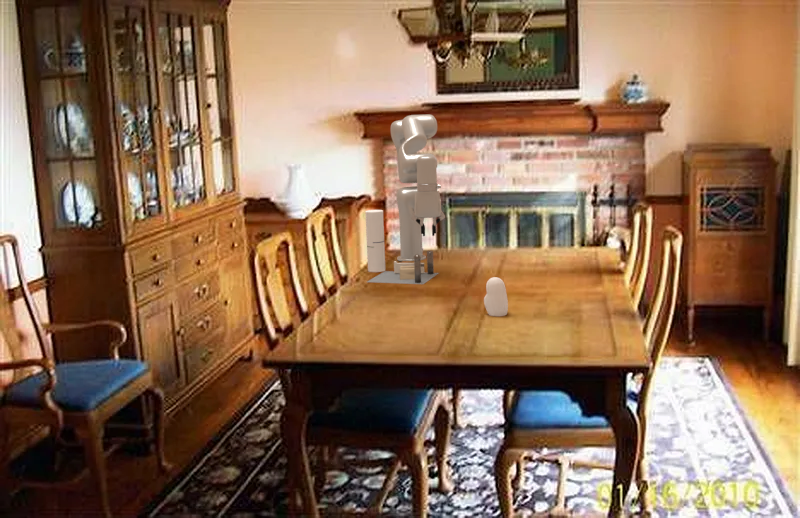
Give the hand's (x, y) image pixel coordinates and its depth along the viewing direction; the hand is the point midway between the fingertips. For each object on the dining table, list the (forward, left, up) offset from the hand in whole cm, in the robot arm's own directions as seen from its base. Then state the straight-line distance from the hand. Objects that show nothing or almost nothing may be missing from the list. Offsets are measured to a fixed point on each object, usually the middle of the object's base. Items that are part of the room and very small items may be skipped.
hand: (428, 235), depth 354 cm
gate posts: (+2, -2, -17) cm, 17 cm away
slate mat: (+2, -10, -17) cm, 20 cm away
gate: (-5, -10, -16) cm, 20 cm away
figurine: (+49, +38, -17) cm, 64 cm away
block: (+2, -8, -17) cm, 19 cm away
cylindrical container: (-9, -26, -17) cm, 33 cm away
